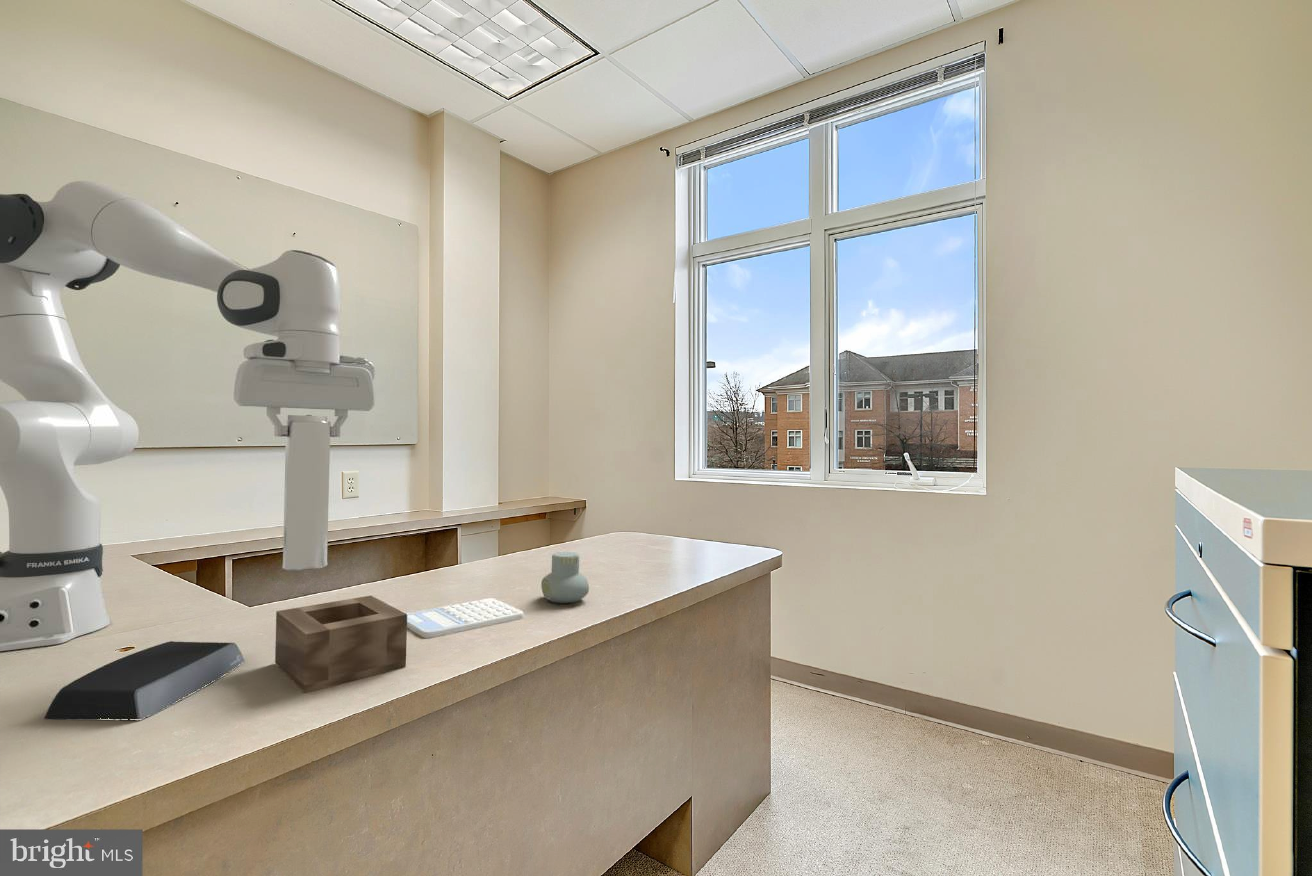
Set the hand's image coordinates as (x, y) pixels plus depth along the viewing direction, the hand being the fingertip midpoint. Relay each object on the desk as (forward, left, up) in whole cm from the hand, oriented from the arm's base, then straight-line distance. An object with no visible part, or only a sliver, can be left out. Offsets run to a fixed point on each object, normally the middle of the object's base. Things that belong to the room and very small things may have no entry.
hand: (308, 436), depth 100 cm
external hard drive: (-19, -4, -35) cm, 40 cm away
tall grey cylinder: (0, 0, -22) cm, 22 cm away
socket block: (+2, -12, -35) cm, 37 cm away
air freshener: (+50, -5, -35) cm, 61 cm away
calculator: (+27, -3, -35) cm, 44 cm away
